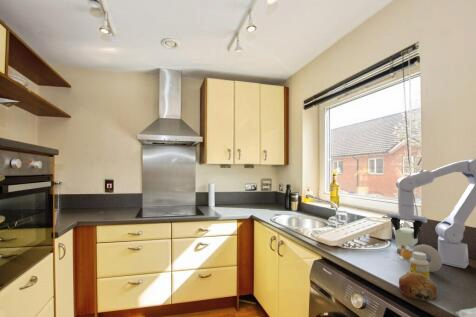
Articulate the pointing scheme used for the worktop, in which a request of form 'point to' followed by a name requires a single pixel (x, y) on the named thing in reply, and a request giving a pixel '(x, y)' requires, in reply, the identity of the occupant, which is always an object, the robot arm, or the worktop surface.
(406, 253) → the ball
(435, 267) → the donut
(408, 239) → the cream white block
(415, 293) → the bread roll
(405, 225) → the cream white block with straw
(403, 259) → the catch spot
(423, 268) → the supplement bottle
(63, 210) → the worktop surface
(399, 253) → the grey brown bar
